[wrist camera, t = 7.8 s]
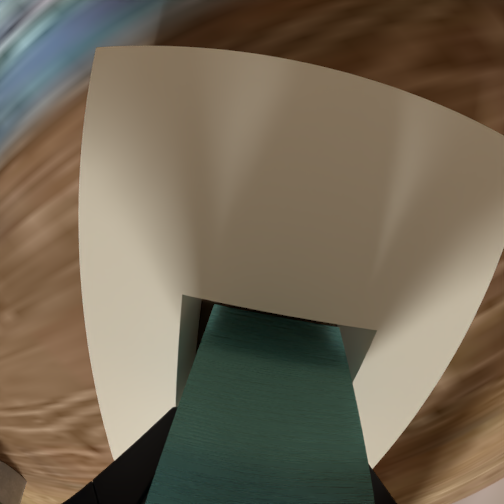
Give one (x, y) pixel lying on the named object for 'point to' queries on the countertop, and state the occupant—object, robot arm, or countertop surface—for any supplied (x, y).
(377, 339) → the beige square hole board
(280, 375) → the teal rectangular block
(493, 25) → the countertop surface
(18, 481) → the house plant
